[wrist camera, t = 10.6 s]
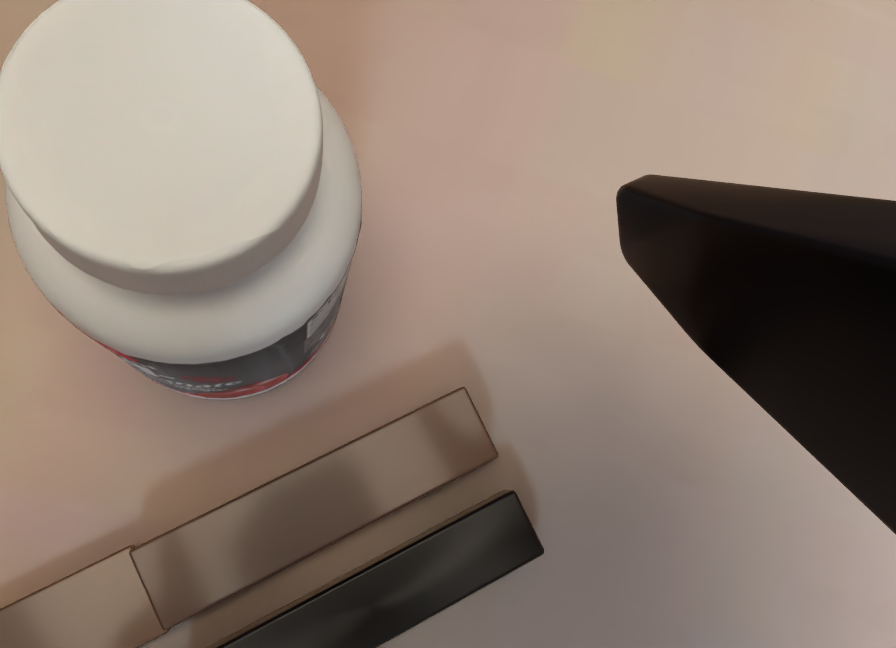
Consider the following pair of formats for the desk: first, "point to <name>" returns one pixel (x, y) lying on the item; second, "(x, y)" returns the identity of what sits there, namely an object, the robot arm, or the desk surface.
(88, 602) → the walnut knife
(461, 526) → the black-handled fork
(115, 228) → the pill bottle
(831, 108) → the desk surface
